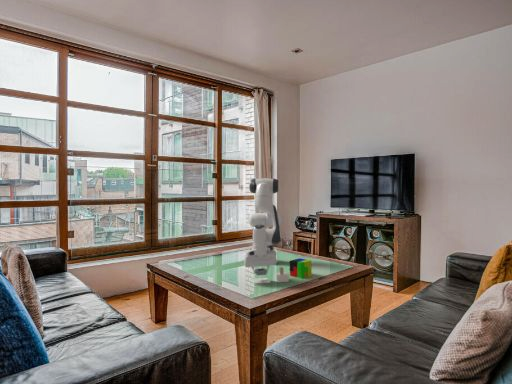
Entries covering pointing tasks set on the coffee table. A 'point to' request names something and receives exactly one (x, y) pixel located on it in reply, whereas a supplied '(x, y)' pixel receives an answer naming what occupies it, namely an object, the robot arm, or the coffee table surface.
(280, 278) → the peg stand
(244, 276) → the coffee table surface
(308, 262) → the puzzle toy
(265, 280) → the coaster
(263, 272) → the ring
